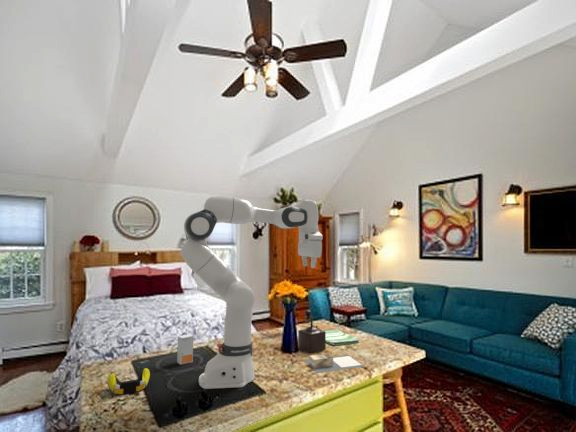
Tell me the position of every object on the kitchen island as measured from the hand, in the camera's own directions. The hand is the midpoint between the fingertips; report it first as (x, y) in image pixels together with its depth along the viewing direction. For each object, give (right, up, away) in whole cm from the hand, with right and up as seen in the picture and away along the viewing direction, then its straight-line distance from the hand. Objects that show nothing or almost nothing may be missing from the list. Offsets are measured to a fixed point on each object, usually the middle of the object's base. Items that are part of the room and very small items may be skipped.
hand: (309, 266), depth 156 cm
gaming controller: (-70, -44, -22) cm, 85 cm away
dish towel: (+18, -47, +43) cm, 66 cm away
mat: (+11, -45, +3) cm, 46 cm away
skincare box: (-57, -45, +6) cm, 72 cm away
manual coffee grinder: (+2, -46, +26) cm, 53 cm away
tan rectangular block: (+6, -44, +1) cm, 44 cm away
